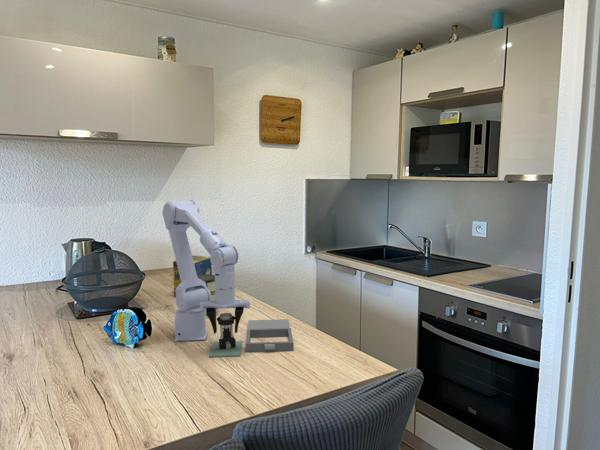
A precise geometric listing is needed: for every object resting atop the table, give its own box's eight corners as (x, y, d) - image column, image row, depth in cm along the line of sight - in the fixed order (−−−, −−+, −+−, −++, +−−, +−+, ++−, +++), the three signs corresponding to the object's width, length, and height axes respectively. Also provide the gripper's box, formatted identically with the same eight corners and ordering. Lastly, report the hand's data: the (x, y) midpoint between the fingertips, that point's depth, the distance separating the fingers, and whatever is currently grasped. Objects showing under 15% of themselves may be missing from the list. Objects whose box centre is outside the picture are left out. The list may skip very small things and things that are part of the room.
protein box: (173, 297, 194) (172, 261, 193) (192, 288, 209) (191, 255, 207) (195, 299, 191) (194, 262, 190) (212, 290, 206) (212, 256, 204)
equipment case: (245, 353, 134) (245, 345, 133) (248, 323, 160) (248, 316, 160) (293, 351, 135) (293, 343, 135) (288, 322, 161) (288, 315, 161)
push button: (215, 352, 133) (214, 319, 132) (211, 346, 138) (210, 314, 137) (238, 348, 135) (237, 315, 134) (233, 342, 140) (232, 311, 139)
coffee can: (194, 309, 177) (193, 273, 175) (220, 310, 176) (220, 274, 174) (185, 317, 167) (184, 280, 165) (213, 318, 166) (212, 280, 164)
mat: (208, 357, 131) (208, 355, 131) (212, 343, 142) (212, 341, 141) (240, 356, 131) (240, 354, 131) (242, 342, 142) (241, 340, 142)
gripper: (197, 291, 130) (199, 337, 131) (249, 290, 131) (249, 336, 132) (201, 285, 137) (202, 329, 138) (249, 284, 138) (250, 327, 139)
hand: (225, 332), depth 136 cm, fingers open, 5 cm apart
